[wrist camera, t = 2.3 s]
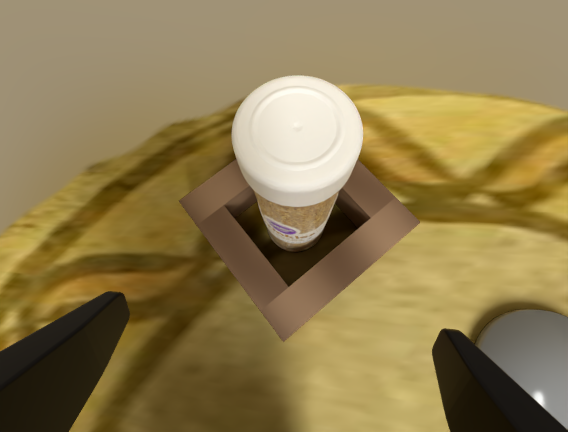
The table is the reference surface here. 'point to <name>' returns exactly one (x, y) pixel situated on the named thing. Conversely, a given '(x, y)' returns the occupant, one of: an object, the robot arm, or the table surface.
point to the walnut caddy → (321, 277)
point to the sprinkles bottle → (296, 154)
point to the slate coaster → (532, 355)
